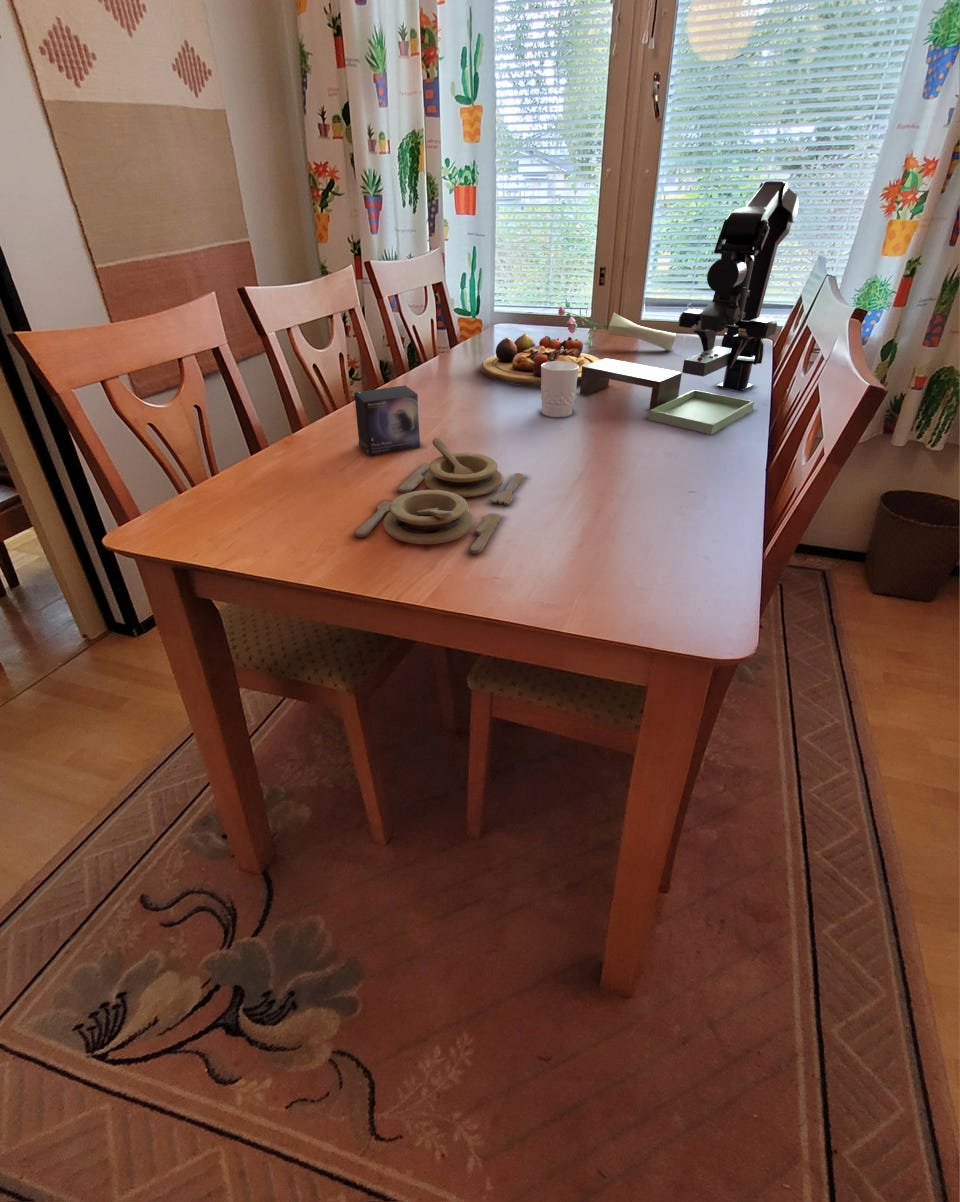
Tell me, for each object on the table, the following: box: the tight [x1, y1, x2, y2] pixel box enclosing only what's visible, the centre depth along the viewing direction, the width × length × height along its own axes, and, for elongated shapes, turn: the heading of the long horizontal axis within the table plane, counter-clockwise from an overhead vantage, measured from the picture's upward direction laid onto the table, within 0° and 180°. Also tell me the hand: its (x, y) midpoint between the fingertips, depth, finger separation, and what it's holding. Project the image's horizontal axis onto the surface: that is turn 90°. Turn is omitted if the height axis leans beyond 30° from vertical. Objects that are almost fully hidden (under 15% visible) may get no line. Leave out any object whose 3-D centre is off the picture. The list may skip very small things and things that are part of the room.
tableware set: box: [354, 437, 525, 555], centre depth 102 cm, size 30×20×6 cm, turn 164°
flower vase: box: [557, 299, 677, 352], centre depth 191 cm, size 12×12×35 cm
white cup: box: [540, 361, 579, 418], centre depth 139 cm, size 8×8×10 cm
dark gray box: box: [681, 345, 732, 378], centre depth 134 cm, size 15×5×3 cm, turn 138°
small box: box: [353, 385, 421, 457], centre depth 122 cm, size 11×6×10 cm, turn 117°
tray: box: [648, 389, 755, 435], centre depth 139 cm, size 20×14×2 cm
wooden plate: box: [481, 333, 601, 387], centre depth 168 cm, size 32×32×8 cm
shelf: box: [579, 357, 683, 412], centre depth 149 cm, size 10×20×6 cm, turn 48°
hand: (718, 366), depth 138 cm, fingers closed on dark gray box, 4 cm apart
